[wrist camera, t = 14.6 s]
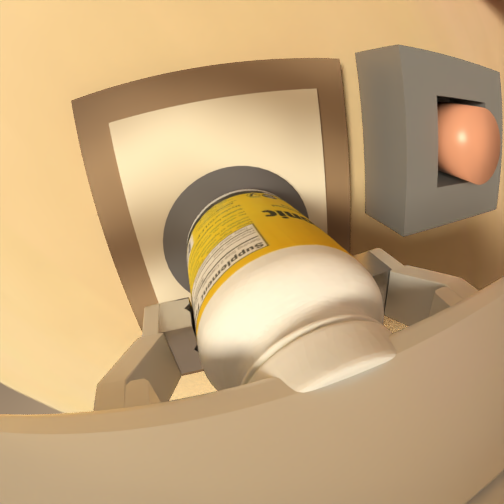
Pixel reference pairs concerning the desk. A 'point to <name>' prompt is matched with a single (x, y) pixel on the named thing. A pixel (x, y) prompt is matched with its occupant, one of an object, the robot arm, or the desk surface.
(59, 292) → the desk surface
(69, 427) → the robot arm
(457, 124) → the button
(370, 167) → the button housing
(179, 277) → the picture frame
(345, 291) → the supplement bottle
